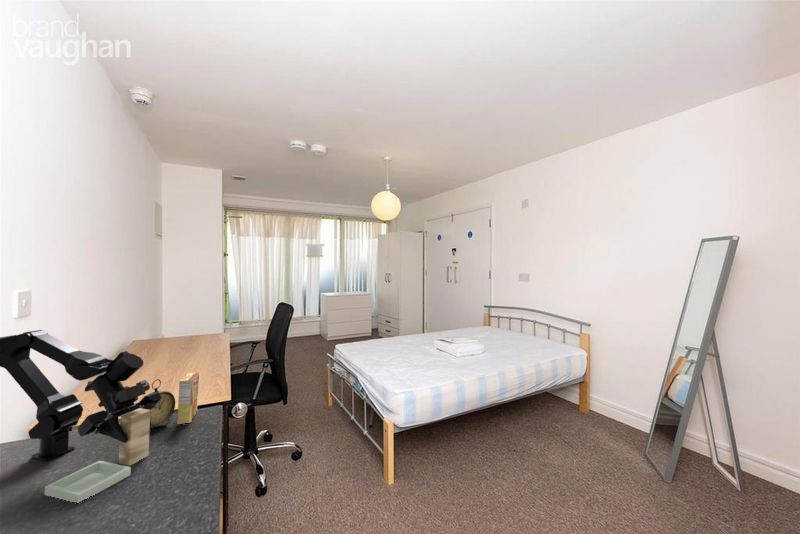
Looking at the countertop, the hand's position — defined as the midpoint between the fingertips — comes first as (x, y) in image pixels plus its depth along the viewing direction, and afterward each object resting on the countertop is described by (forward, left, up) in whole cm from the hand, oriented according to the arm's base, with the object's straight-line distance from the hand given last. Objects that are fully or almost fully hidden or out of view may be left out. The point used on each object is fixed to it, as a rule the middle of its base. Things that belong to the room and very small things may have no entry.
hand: (138, 436), depth 89 cm
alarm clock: (-14, +16, -7) cm, 23 cm away
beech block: (-1, 0, -7) cm, 7 cm away
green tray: (0, -11, -7) cm, 13 cm away
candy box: (-9, +24, -7) cm, 27 cm away
